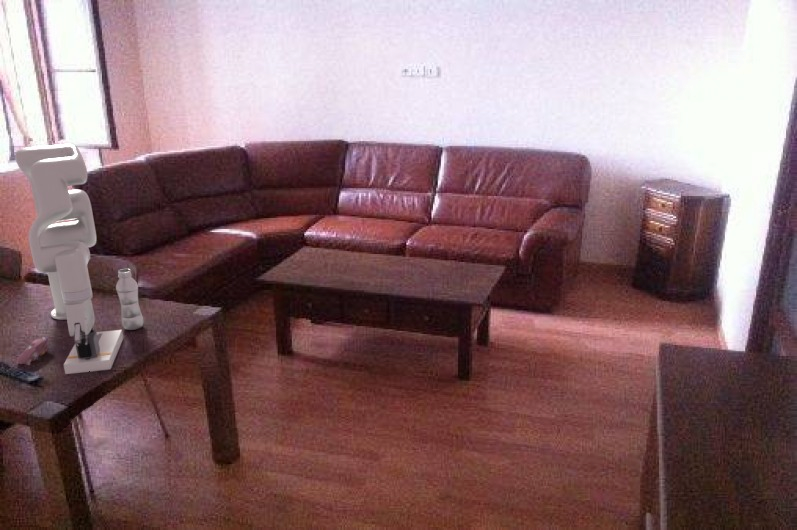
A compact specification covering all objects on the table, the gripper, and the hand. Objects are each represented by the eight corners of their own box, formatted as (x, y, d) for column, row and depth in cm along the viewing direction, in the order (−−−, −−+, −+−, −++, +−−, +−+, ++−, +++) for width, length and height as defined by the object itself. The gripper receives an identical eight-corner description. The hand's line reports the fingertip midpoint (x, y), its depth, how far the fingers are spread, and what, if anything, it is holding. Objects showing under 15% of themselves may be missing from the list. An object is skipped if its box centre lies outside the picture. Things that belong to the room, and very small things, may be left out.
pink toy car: (28, 370, 187) (33, 352, 184) (14, 363, 187) (19, 344, 184) (51, 354, 196) (56, 336, 193) (38, 347, 196) (43, 329, 193)
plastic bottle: (134, 322, 213) (124, 265, 206) (149, 326, 210) (139, 269, 203) (118, 330, 208) (107, 272, 201) (133, 334, 205) (123, 275, 198)
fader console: (82, 342, 200) (80, 333, 199) (123, 338, 202) (121, 329, 201) (65, 374, 181) (63, 364, 180) (110, 369, 184) (108, 359, 183)
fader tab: (81, 352, 186) (77, 333, 184) (100, 350, 187) (96, 331, 185) (78, 358, 183) (74, 339, 181) (97, 356, 184) (93, 337, 182)
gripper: (70, 283, 186) (81, 339, 192) (53, 307, 170) (66, 367, 176) (98, 281, 187) (108, 336, 193) (84, 304, 171) (96, 364, 178)
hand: (88, 350), depth 185 cm, fingers open, 6 cm apart
